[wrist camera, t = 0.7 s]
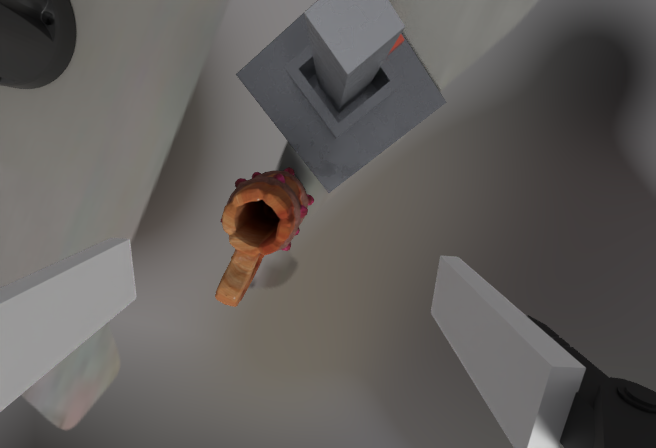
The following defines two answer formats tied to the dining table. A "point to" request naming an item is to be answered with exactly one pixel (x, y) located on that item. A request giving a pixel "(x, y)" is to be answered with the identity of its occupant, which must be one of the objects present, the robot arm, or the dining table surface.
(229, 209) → the mug
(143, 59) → the dining table surface
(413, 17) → the dining table surface
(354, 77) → the column
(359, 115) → the stand base
